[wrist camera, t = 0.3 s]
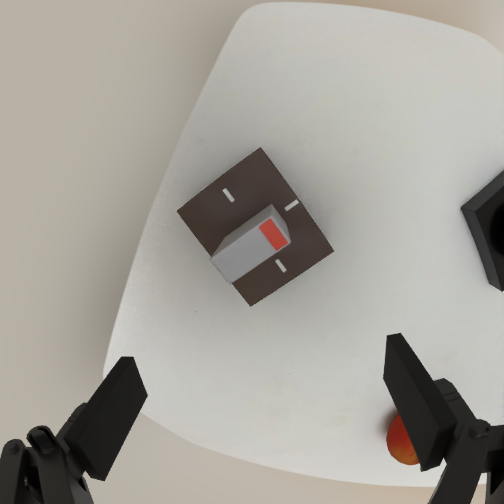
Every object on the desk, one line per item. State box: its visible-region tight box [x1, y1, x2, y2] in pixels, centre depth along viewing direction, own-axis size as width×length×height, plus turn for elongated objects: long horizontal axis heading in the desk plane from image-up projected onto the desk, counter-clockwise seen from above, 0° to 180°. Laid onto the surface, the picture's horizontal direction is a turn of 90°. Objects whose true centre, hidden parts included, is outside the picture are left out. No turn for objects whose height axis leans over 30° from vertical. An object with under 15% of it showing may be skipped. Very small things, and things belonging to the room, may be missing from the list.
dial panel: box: [177, 148, 334, 306], centre depth 31 cm, size 12×10×4 cm
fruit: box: [386, 414, 429, 472], centre depth 34 cm, size 10×10×10 cm
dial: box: [210, 204, 291, 284], centre depth 26 cm, size 6×2×8 cm, turn 126°
